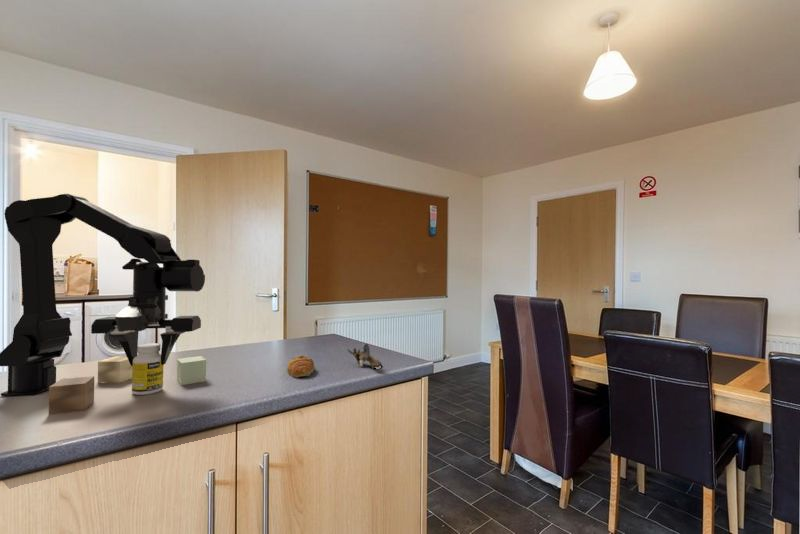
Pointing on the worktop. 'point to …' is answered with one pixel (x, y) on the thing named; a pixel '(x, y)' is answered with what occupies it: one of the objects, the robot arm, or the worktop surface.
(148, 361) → the supplement bottle
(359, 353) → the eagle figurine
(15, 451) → the worktop surface
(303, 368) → the pastry
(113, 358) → the maple block
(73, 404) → the walnut block
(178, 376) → the sage block
